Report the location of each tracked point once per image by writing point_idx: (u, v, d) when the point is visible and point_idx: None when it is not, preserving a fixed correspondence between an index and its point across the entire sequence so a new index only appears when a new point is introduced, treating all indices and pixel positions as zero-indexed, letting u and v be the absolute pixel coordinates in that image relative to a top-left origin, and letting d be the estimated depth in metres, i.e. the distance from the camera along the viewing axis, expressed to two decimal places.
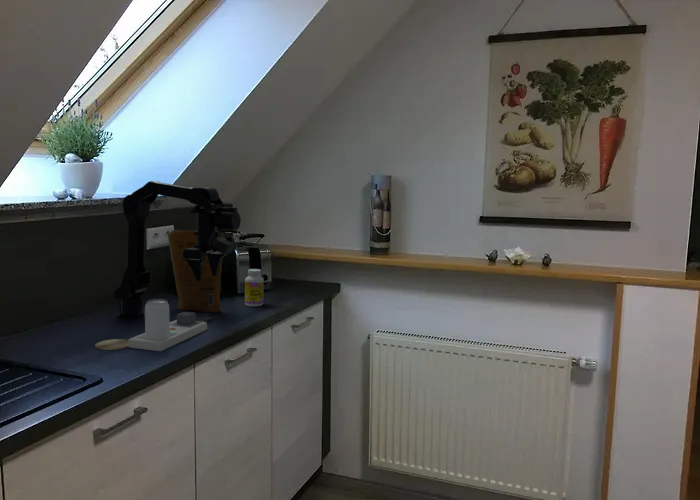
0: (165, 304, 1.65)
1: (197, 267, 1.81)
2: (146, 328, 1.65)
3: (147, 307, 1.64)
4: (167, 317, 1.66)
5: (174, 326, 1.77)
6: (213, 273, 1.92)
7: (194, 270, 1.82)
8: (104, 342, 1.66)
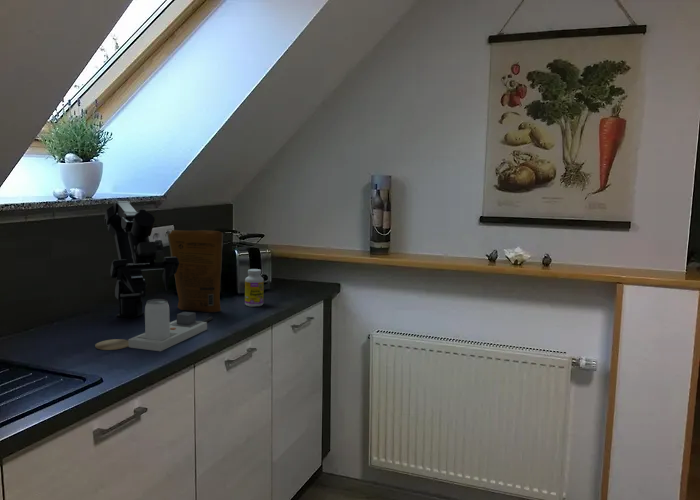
0: (165, 304, 1.65)
1: (127, 279, 1.72)
2: (146, 328, 1.65)
3: (147, 307, 1.64)
4: (167, 317, 1.66)
5: (174, 326, 1.77)
6: (165, 287, 1.76)
7: (127, 284, 1.72)
8: (104, 342, 1.66)
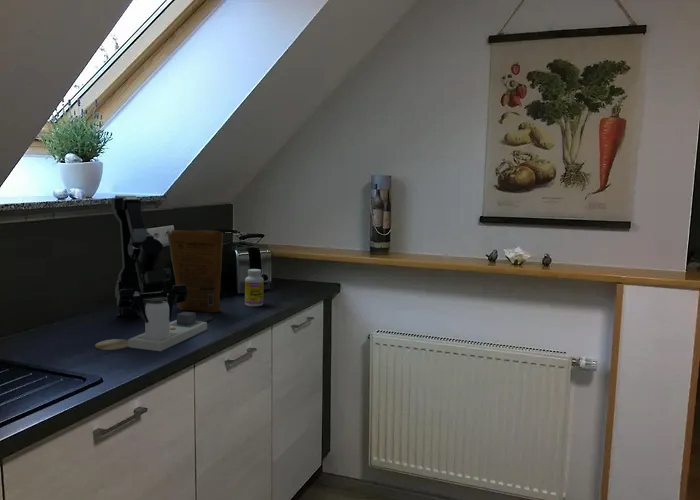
0: (165, 304, 1.65)
1: (140, 309, 1.65)
2: (146, 328, 1.65)
3: (147, 307, 1.64)
4: (167, 317, 1.66)
5: (174, 326, 1.77)
6: None
7: (140, 314, 1.66)
8: (104, 342, 1.66)
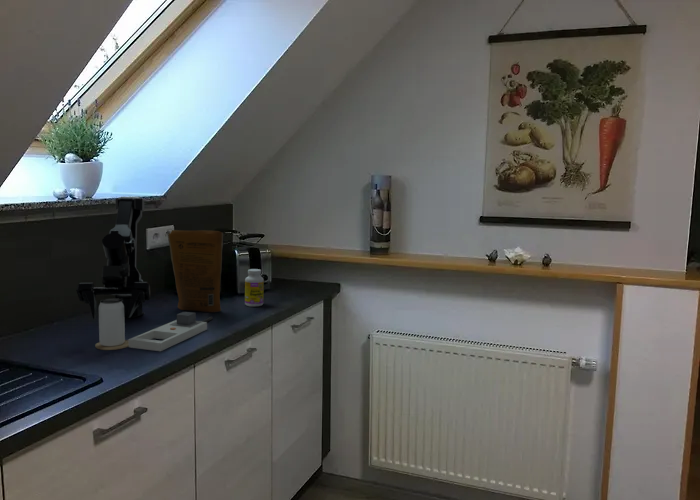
0: (117, 304, 1.62)
1: None
2: (99, 327, 1.63)
3: (99, 306, 1.62)
4: (119, 318, 1.62)
5: (174, 326, 1.77)
6: None
7: None
8: None
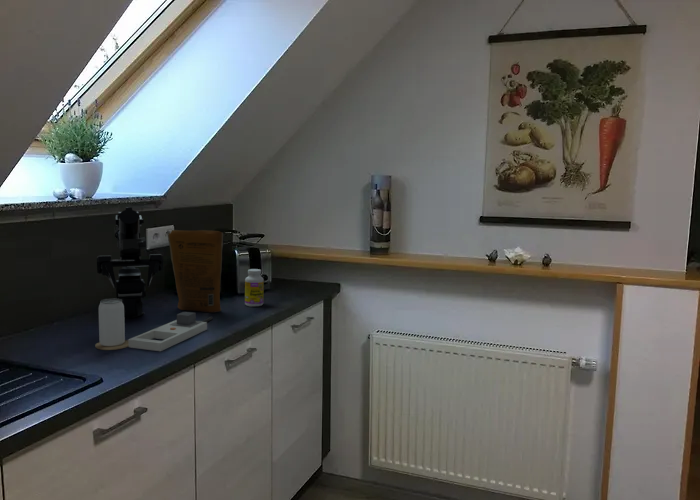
0: (117, 304, 1.62)
1: (110, 275, 1.77)
2: (99, 327, 1.63)
3: (99, 306, 1.62)
4: (119, 317, 1.62)
5: (174, 326, 1.77)
6: (147, 284, 1.79)
7: (110, 280, 1.77)
8: None
